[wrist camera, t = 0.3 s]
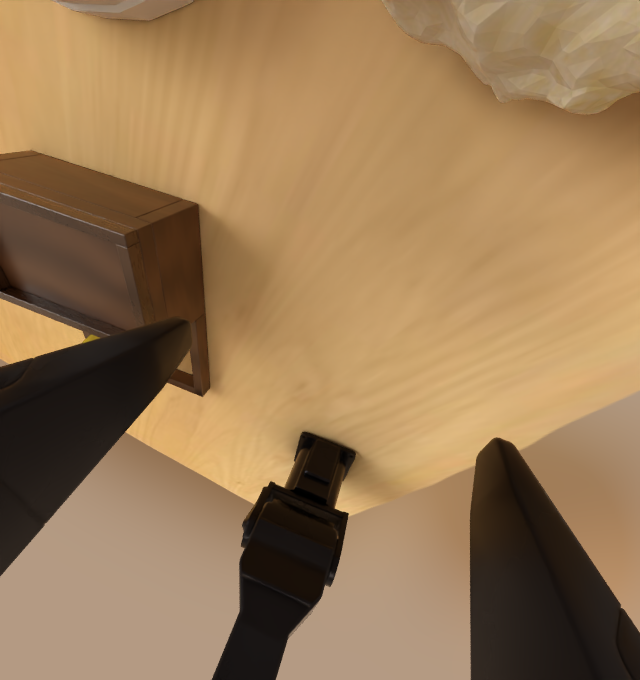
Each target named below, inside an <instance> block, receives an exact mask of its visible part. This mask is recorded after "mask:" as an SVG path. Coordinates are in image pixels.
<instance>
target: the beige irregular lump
mask: <svg viewBox="0 0 640 680" xmlns="http://www.w3.org/2000/svg"><path fill="white" fill-rule="evenodd" d="M381 1H382V2H383V4H384V5H385V7H386V9H387V10H388V12H389V13H390V15H391V16H392V18H393V19H394V21H395V22H396V24H397V25H398V26H399V27H400V28H401V29H402V30H403V31H404V32H405V33H406V34H408V35H409V36H411V37H412V38H414V39H416V40H418V41H420V42H422V43H427V44H434V45H442V46H446V47H448V48H450V49H451V50H453V51H455V52H456V53H458V54H459V55H461V56H462V58H463V59H464V61H465V62H466V63H467V65H468V66H469V67H470V69H471V70H472V71H473V73H474V74H475V75H476V76H477V77H478V78H479V79H480V81H481V82H482V83H483V84H485V85H490V86H491V87H492V89H493V93H494V95H495V96H496V98H497V99H498V100H499V102H500V103H507V102H509V101H511V100H512V99H515V100H521V99H527V98H528V99H534V100H540V101H546V102H548V103H551V104H553V105H555V106H557V107H560V108H562V109H564V110H566V111H568V112H571V113H577V114H586V115H590V114H595V113H599V112H601V111H603V110H605V109H607V108H609V107H610V106H611V105H612V104H614V103H615V102H616V101H618V100H619V99H621V98H624V97H626V96H628V95H631V94H633V93H636V92H640V0H381Z"/></svg>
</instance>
